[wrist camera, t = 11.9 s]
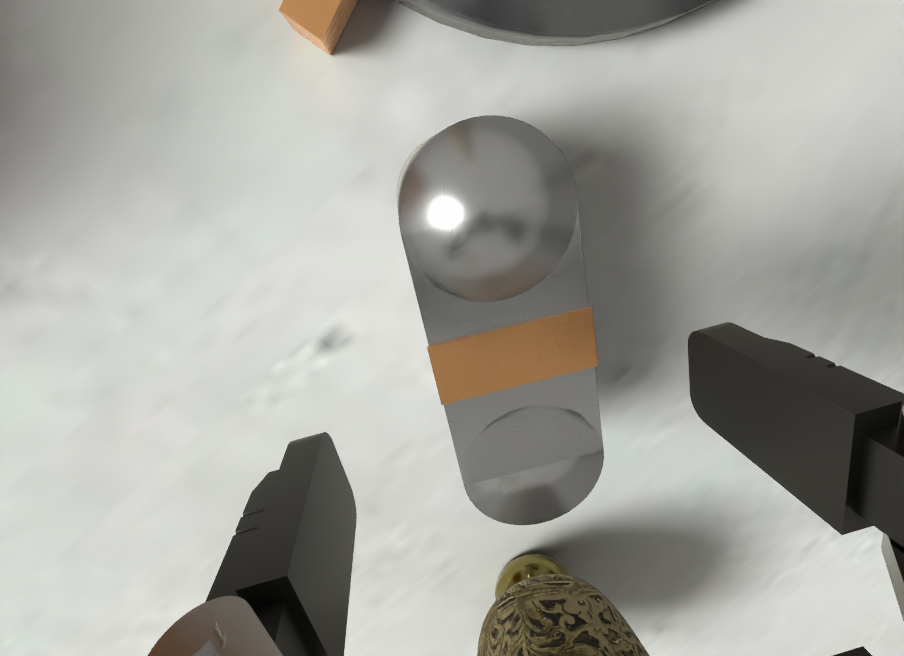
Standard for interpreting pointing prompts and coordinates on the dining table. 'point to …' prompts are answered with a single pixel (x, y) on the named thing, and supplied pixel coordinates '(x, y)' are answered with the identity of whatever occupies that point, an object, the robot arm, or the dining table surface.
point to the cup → (552, 615)
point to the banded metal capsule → (506, 313)
